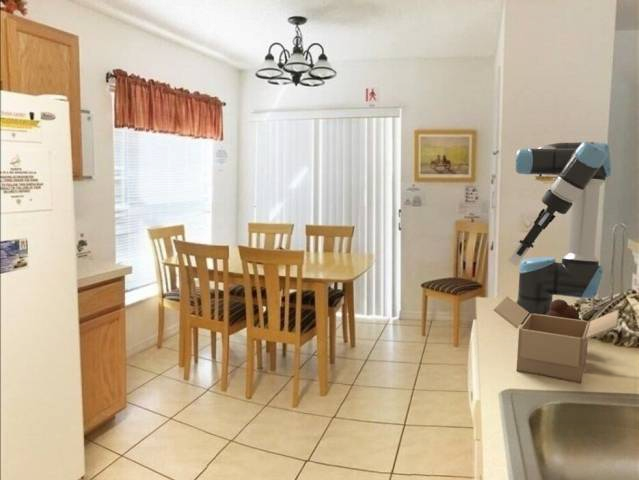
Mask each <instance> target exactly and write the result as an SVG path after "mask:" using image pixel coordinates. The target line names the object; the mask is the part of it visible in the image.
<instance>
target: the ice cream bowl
mask: <svg viewBox="0 0 639 480" xmlns="http://www.w3.org/2000/svg"><path fill="white" fill-rule="evenodd" d="M546 315H547V316H555V317H562V318H569V319H576V320H582V318H580V313H579V311H578V310H577V309H576V307H574V306H573V305H569V304H568V303H567V301H565V300H563V299H559V298H558V299H555V300H552V303H551V304H550V311H548V312H547V314H546Z"/></svg>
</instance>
